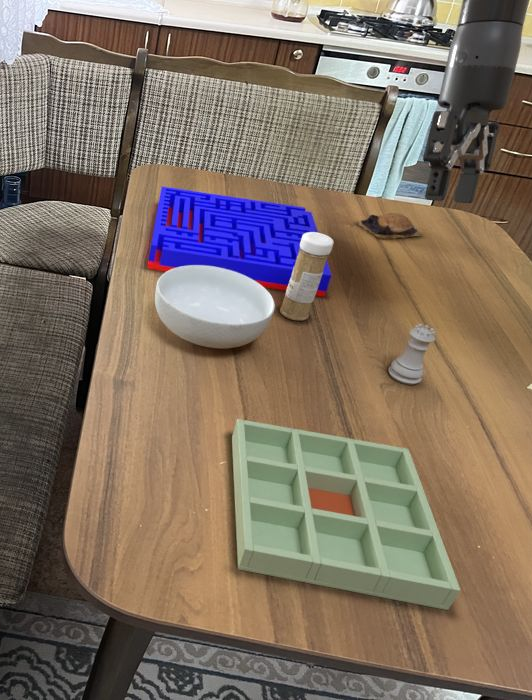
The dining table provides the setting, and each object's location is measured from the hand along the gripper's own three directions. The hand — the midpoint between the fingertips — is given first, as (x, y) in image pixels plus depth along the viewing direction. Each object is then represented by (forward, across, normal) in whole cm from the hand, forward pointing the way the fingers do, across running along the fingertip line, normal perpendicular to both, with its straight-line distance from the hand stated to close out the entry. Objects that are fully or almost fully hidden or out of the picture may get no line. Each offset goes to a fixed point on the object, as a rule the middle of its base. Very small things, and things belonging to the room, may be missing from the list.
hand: (449, 201), depth 88 cm
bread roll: (+7, +47, +30) cm, 57 cm away
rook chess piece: (+25, +2, +1) cm, 25 cm away
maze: (+12, +11, +41) cm, 44 cm away
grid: (+33, -30, -7) cm, 45 cm away
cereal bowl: (+22, -16, +24) cm, 36 cm away
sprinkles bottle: (+20, +1, +20) cm, 28 cm away
